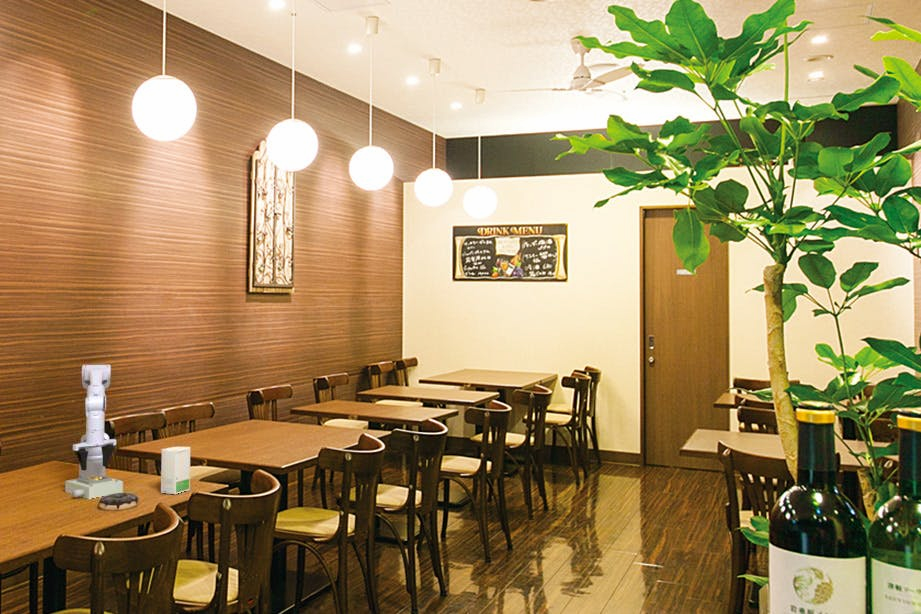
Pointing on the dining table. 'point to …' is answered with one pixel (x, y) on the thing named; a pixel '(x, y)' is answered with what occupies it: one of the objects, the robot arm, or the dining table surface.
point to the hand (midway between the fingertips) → (94, 468)
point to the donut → (118, 501)
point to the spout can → (95, 478)
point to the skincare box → (175, 470)
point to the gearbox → (93, 487)
